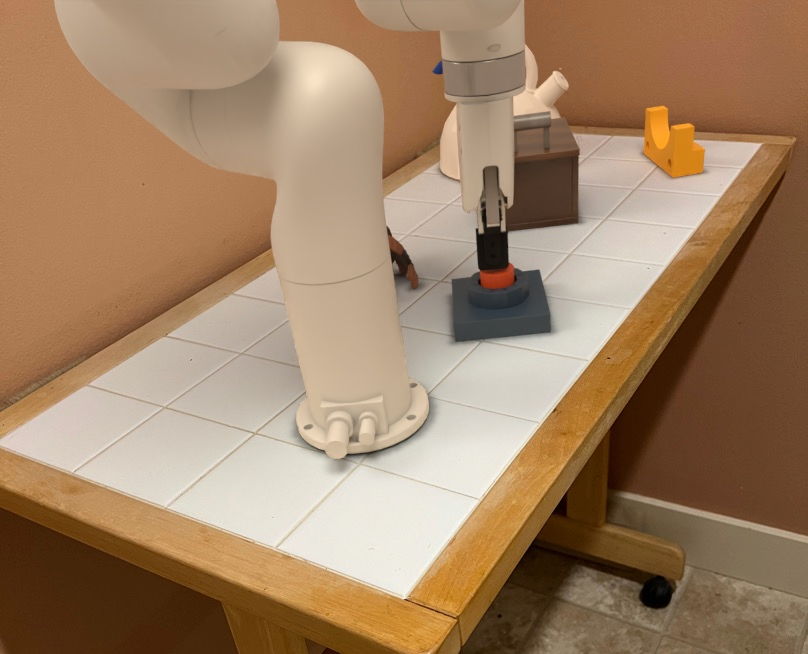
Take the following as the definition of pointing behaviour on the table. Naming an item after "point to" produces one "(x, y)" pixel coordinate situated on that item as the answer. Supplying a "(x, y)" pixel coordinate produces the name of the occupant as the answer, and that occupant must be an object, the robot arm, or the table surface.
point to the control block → (500, 307)
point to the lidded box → (544, 194)
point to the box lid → (542, 138)
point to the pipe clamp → (671, 144)
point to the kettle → (522, 104)
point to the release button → (497, 277)
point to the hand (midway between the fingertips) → (493, 266)
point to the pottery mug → (402, 260)
